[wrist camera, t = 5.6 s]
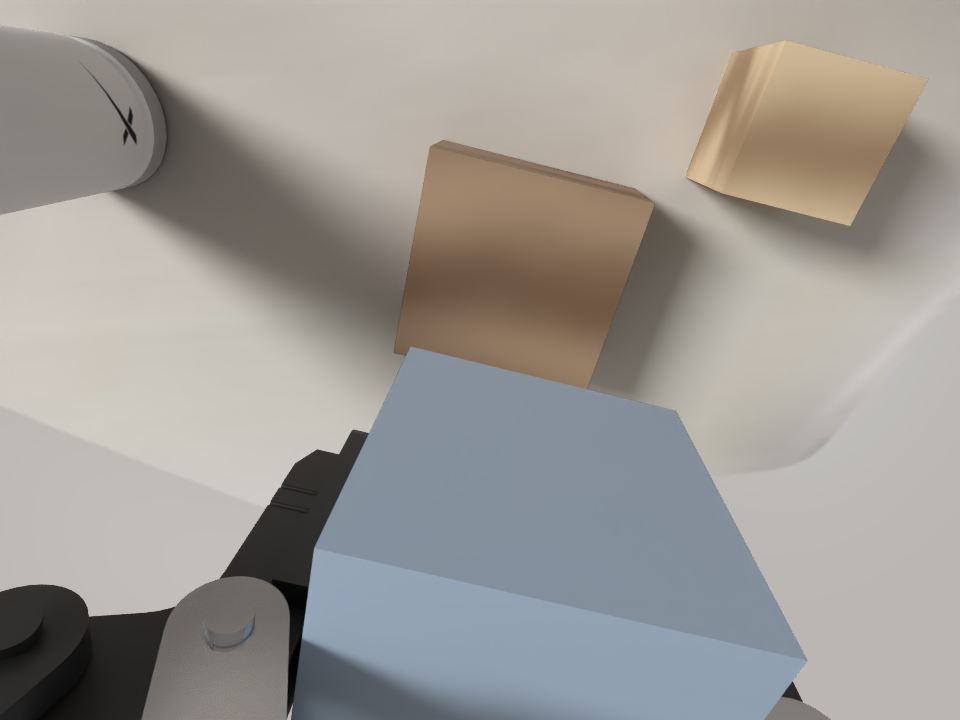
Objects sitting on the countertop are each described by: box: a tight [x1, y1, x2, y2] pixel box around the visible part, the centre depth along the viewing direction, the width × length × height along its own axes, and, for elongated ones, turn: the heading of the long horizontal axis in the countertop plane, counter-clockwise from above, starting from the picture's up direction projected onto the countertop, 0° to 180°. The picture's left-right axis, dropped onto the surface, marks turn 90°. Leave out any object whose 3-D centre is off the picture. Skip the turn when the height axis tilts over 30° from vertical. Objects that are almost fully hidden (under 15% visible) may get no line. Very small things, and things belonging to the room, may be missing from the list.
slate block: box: [291, 347, 807, 720], centre depth 9 cm, size 5×5×5 cm
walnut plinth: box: [394, 140, 655, 389], centre depth 25 cm, size 9×9×4 cm
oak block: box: [685, 40, 929, 226], centre depth 21 cm, size 5×5×5 cm
